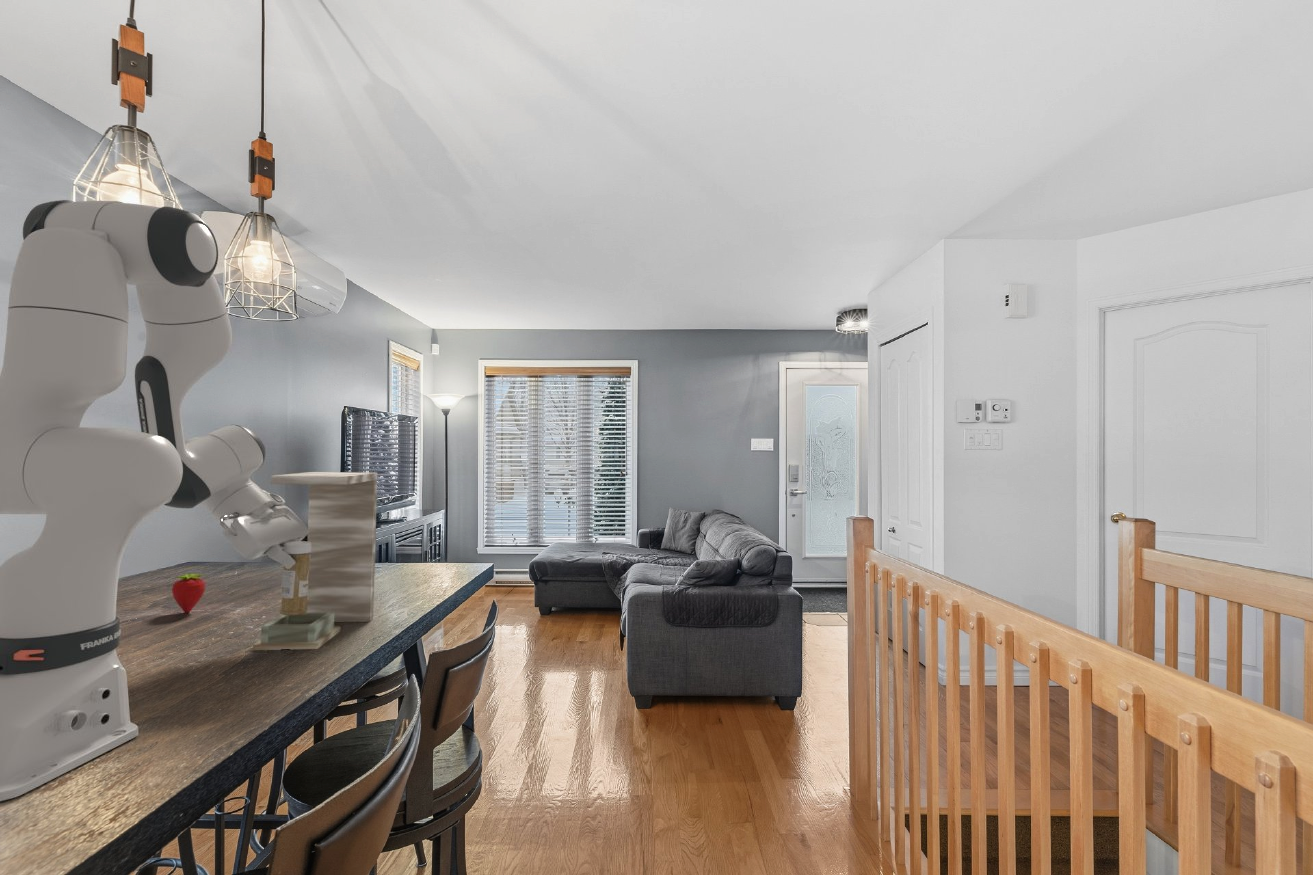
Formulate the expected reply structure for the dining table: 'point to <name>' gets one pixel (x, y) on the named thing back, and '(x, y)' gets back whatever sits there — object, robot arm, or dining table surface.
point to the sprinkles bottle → (296, 579)
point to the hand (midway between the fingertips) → (300, 562)
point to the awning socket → (332, 559)
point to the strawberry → (188, 591)
